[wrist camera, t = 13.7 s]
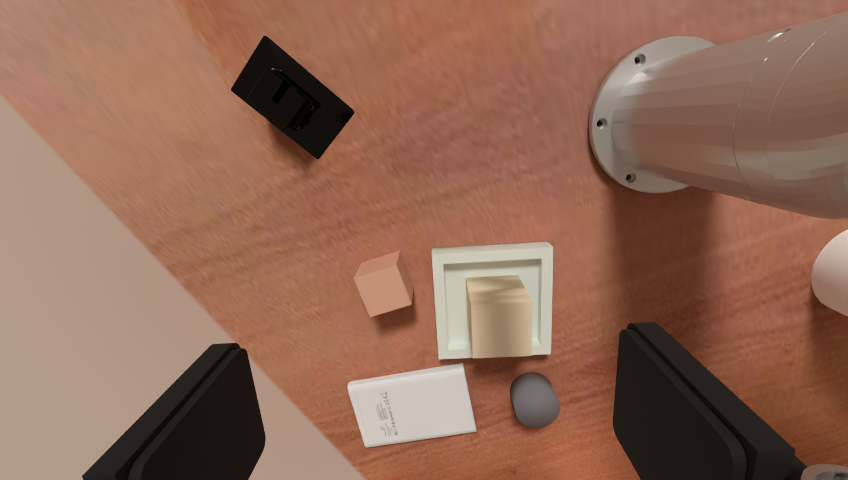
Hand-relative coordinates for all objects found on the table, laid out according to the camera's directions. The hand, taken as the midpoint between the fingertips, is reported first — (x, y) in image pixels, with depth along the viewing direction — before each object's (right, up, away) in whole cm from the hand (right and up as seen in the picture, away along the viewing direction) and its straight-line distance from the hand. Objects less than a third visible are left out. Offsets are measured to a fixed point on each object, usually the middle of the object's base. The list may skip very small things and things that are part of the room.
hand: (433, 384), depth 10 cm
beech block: (+6, -2, +29) cm, 30 cm away
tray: (+6, -2, +30) cm, 31 cm away
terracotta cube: (-4, 0, +30) cm, 30 cm away
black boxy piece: (-12, +16, +26) cm, 33 cm away
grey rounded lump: (+11, -12, +33) cm, 37 cm away
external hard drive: (-1, -14, +35) cm, 37 cm away
